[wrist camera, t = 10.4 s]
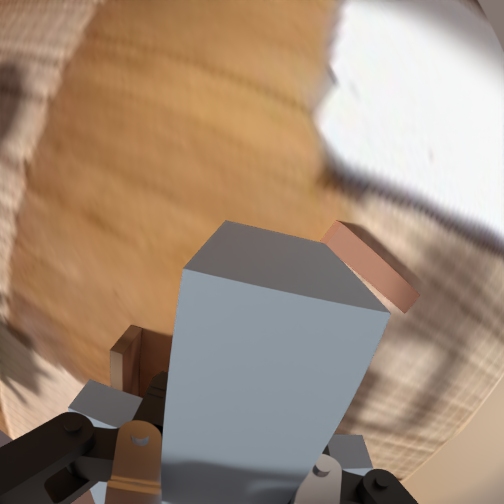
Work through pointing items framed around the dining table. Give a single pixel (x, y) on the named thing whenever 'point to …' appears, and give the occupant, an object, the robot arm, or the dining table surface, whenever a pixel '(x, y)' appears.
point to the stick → (370, 266)
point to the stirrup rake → (256, 370)
